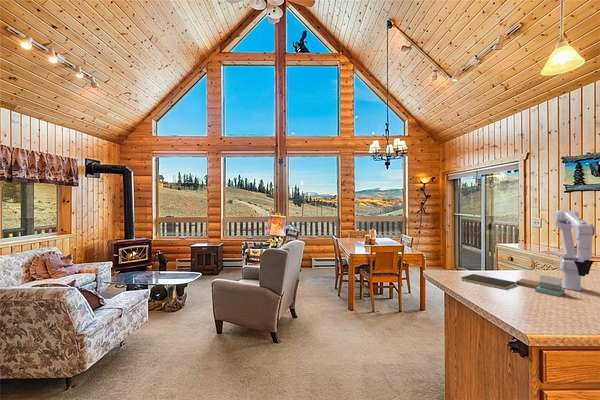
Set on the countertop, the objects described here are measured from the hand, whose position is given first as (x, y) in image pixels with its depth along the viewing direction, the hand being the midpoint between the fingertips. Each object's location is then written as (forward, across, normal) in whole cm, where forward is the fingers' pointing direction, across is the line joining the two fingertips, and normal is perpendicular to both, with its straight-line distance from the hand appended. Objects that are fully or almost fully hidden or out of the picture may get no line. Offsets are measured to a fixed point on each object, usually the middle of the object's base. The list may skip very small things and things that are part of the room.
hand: (583, 275), depth 160 cm
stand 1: (+10, -1, -23) cm, 25 cm away
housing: (+8, +7, -12) cm, 16 cm away
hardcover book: (+11, +13, -39) cm, 43 cm away
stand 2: (+10, +7, -12) cm, 17 cm away
